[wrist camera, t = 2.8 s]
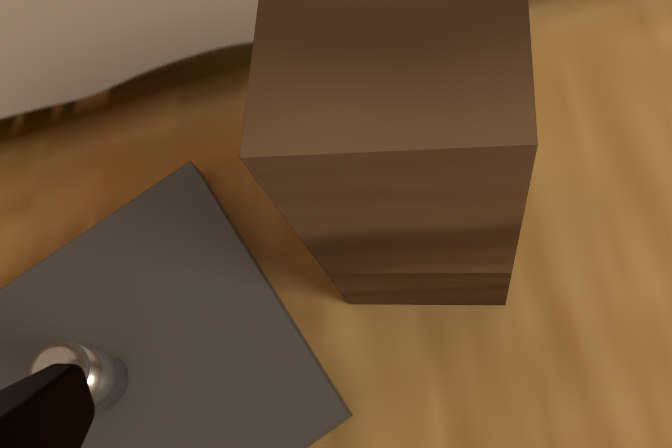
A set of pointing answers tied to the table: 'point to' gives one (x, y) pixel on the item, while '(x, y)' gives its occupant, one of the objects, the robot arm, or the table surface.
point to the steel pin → (88, 370)
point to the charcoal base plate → (174, 328)
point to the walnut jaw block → (397, 141)
